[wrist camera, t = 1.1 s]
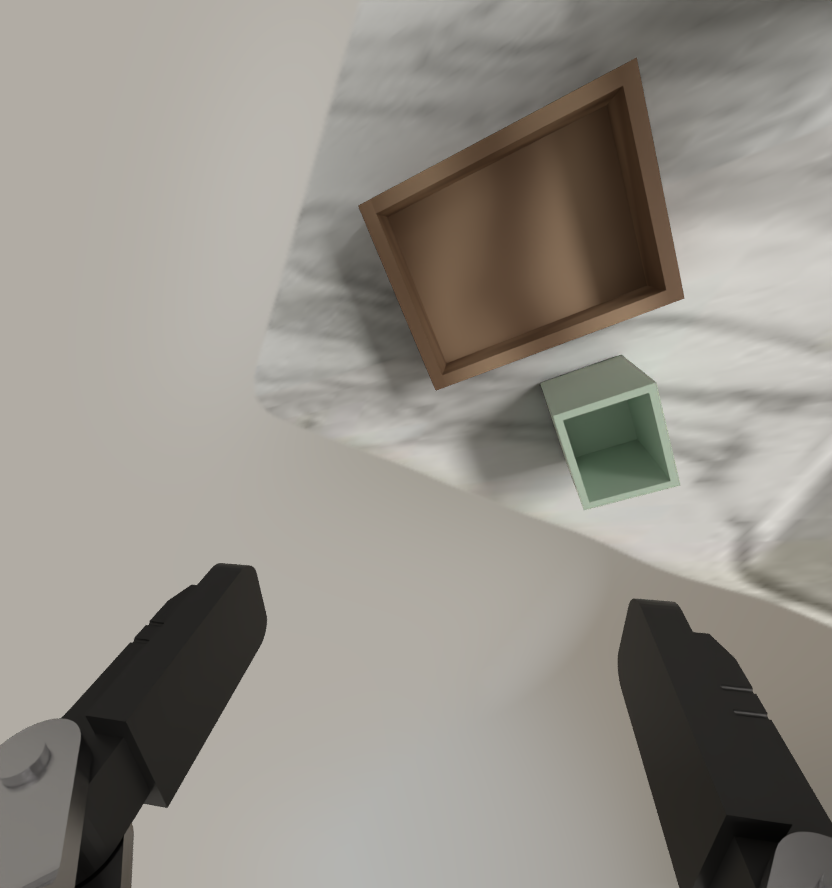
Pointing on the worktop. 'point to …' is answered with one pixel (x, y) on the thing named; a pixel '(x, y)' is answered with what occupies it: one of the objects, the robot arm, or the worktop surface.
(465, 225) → the big crate
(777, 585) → the worktop surface
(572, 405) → the small crate
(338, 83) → the worktop surface
